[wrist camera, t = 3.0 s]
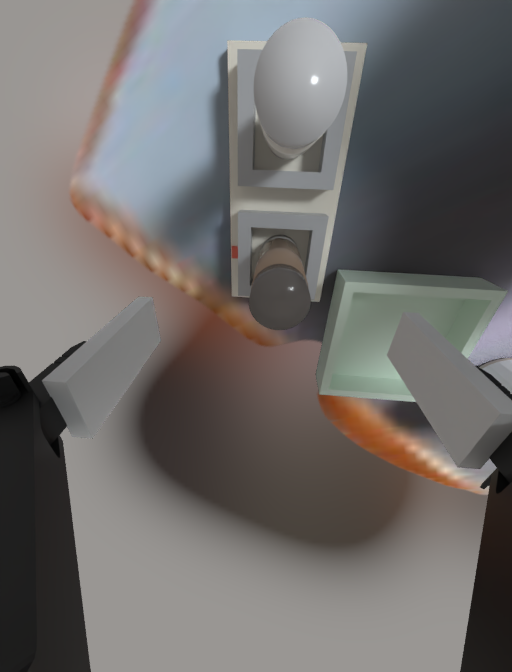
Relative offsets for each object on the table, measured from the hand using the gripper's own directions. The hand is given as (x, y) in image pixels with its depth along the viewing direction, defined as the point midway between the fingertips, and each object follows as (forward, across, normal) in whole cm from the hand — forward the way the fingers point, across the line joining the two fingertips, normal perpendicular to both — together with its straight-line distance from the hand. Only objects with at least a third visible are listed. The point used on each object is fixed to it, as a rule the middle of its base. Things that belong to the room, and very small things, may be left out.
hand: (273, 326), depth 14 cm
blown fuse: (+15, 0, 0) cm, 15 cm away
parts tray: (+16, +14, -9) cm, 23 cm away
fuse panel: (+16, 0, +5) cm, 17 cm away
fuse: (+15, 0, +10) cm, 18 cm away
